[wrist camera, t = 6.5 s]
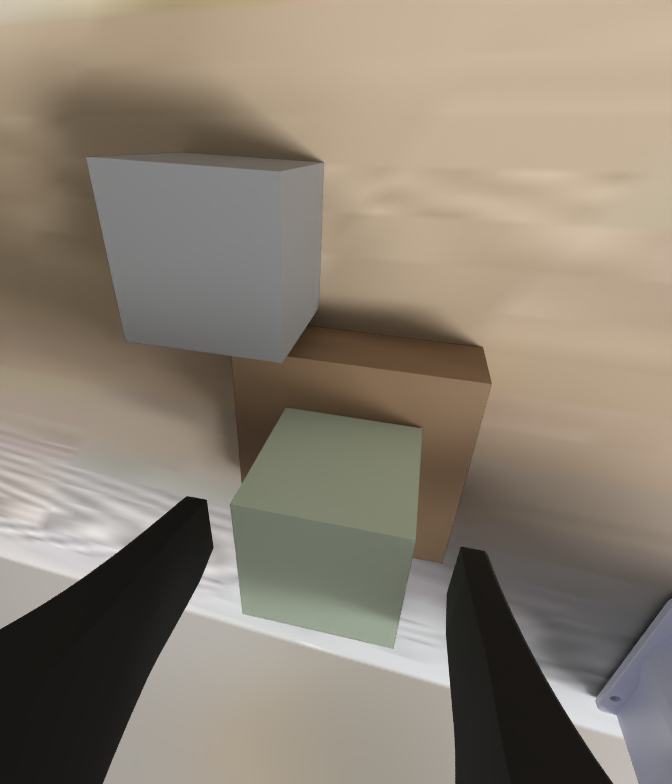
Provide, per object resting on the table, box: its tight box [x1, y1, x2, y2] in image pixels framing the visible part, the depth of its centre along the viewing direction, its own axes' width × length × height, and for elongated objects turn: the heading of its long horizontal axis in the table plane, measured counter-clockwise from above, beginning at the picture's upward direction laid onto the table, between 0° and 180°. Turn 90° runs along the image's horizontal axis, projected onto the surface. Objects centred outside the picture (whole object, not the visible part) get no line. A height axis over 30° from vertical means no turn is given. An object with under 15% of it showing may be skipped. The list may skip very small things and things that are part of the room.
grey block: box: [86, 152, 324, 363], centre depth 12 cm, size 4×4×4 cm
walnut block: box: [231, 326, 492, 563], centre depth 16 cm, size 8×8×3 cm
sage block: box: [230, 408, 422, 649], centre depth 13 cm, size 4×4×4 cm
